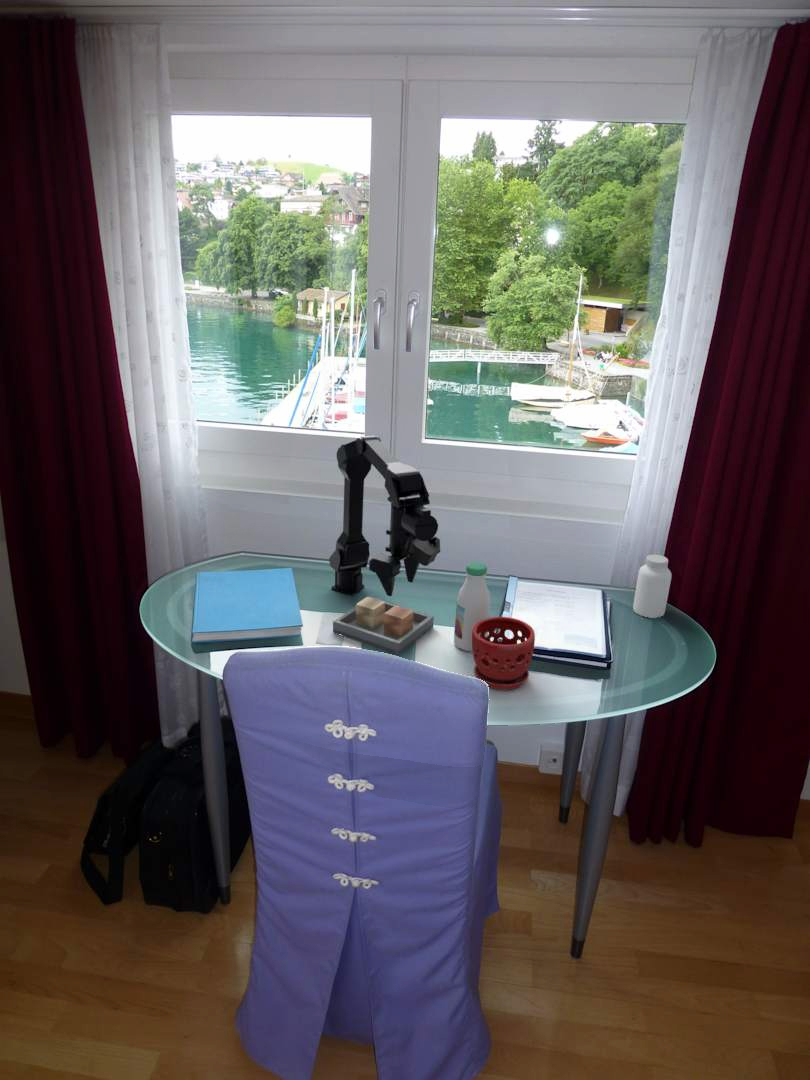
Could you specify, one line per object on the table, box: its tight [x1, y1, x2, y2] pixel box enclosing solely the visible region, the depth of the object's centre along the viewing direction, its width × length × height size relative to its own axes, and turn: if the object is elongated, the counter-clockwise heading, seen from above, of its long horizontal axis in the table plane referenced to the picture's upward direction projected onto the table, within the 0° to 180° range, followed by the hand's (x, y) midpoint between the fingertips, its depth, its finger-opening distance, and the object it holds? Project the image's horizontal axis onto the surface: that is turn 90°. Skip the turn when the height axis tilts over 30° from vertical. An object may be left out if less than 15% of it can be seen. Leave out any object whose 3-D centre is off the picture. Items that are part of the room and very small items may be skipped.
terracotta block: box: [384, 605, 415, 638], centre depth 190 cm, size 5×5×5 cm
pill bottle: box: [632, 554, 673, 619], centre depth 206 cm, size 8×8×15 cm
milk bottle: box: [453, 561, 491, 653], centre depth 185 cm, size 8×8×20 cm
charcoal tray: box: [332, 596, 435, 656], centre depth 193 cm, size 18×16×3 cm
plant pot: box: [472, 616, 536, 690], centre depth 173 cm, size 13×13×12 cm
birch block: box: [355, 596, 386, 629], centre depth 194 cm, size 5×5×5 cm
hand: (400, 588), depth 187 cm, fingers open, 9 cm apart
